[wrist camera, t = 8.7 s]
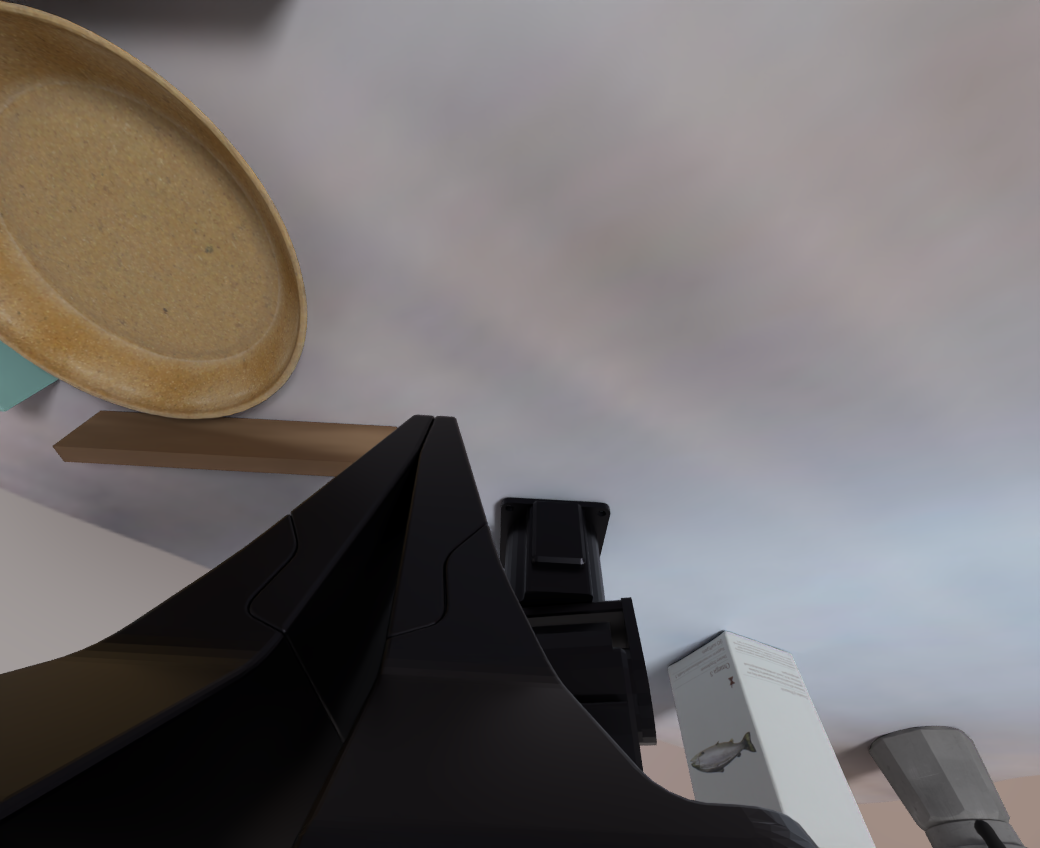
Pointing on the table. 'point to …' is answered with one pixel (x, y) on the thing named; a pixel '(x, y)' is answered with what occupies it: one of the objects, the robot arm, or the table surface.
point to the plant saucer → (134, 233)
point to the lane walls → (220, 443)
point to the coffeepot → (945, 787)
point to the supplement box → (762, 739)
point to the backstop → (19, 378)
